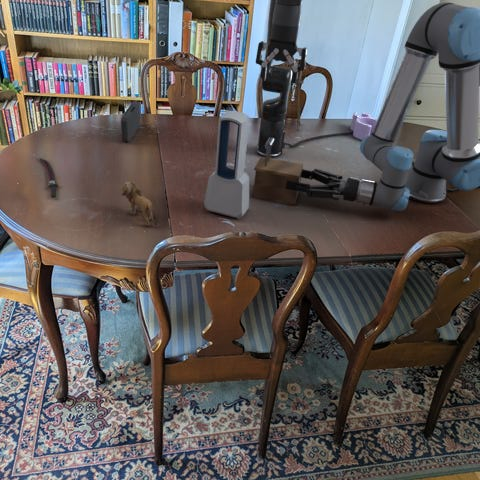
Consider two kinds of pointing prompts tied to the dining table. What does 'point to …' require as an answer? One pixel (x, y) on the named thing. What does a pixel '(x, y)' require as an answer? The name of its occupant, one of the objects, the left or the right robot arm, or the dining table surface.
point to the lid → (277, 164)
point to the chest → (274, 188)
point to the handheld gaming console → (130, 121)
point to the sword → (51, 182)
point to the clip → (362, 125)
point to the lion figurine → (137, 201)
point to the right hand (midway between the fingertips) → (288, 177)
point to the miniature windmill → (296, 99)
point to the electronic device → (229, 170)
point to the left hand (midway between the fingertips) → (278, 82)
